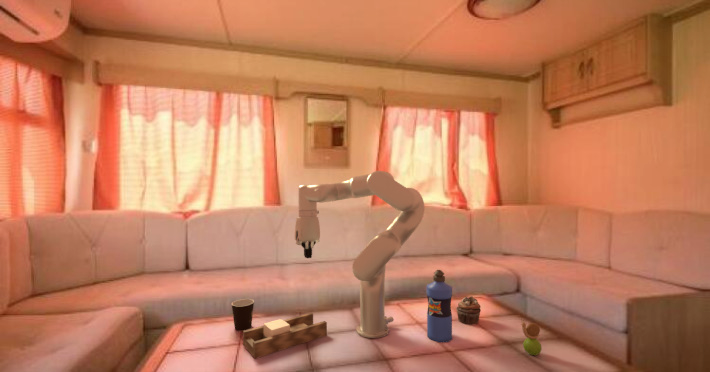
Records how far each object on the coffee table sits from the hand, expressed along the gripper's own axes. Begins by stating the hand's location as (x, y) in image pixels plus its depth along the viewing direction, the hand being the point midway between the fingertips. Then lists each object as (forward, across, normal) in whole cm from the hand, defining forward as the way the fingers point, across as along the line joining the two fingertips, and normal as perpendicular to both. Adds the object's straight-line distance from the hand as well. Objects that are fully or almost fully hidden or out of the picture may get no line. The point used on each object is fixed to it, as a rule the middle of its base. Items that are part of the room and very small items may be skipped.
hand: (308, 257), depth 140 cm
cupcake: (+27, -53, +42) cm, 72 cm away
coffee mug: (+27, +22, -13) cm, 37 cm away
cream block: (+24, +19, +10) cm, 32 cm away
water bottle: (+27, -32, +43) cm, 60 cm away
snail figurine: (+27, -45, +70) cm, 88 cm away
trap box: (+27, +15, +9) cm, 32 cm away
